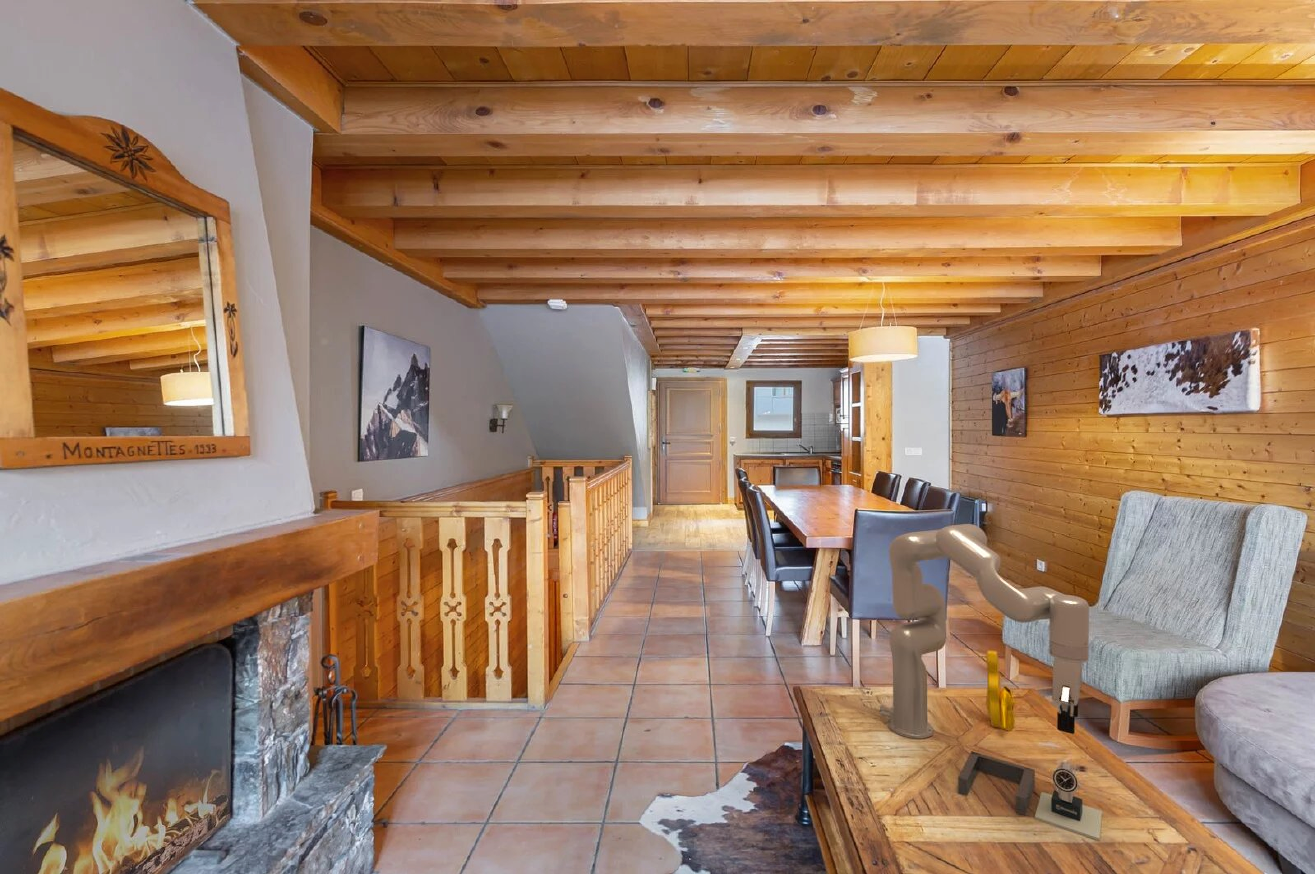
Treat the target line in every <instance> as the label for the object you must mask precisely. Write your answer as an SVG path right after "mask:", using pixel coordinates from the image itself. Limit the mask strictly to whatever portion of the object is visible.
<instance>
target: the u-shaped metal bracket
mask: <svg viewBox="0 0 1315 874" xmlns="http://www.w3.org/2000/svg"><path fill="white" fill-rule="evenodd" d="M979 772H981V773H984V774H987V775H990V776H994V777H997V778H1001V779H1003V780H1007V781H1010V782H1013V783H1016V784H1019V786H1018V788H1017V792H1016V794H1015V813H1016V814H1018V813H1019V815H1021V816H1025V817H1026V816H1027V814H1028V810H1029V806H1030V803H1031V799H1032V797H1033V792H1034V789H1035V786H1036V781H1035V780H1036V776H1035V773H1036V772H1035V769H1034V768H1031V767H1030V768H1029V767H1026V766H1023V765H1021V764H1017V763H1013V762H1009V761H1007V760H1003V759H1000V758H997V757H993V756H990V755H987V754H983V753H980V752H976V751H973V750H971V751H970V753H969V755H968V757H967V759H966V761H965V763H964V765H963V766H962V768H961V770H960V773H959V774H958V777H957V793H958V794H959V795H963V796H966V797H968V796H969V793H970V791H971V788H972V786H973V784H974V783H975V780H976V778H977V775H978V773H979Z"/></svg>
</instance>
